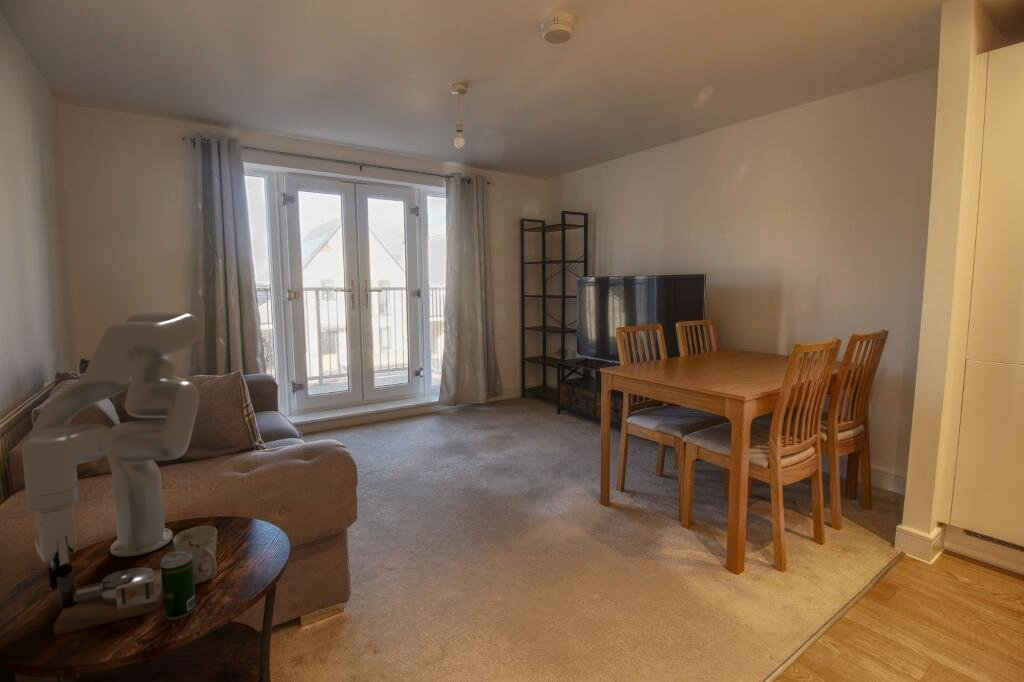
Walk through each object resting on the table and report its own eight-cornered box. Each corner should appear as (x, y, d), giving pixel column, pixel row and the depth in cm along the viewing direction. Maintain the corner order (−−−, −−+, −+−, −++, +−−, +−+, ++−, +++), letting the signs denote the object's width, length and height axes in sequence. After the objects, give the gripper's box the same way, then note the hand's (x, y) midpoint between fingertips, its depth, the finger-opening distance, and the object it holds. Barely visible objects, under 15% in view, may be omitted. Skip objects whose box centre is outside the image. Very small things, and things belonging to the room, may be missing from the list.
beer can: (201, 602, 102) (197, 547, 100) (187, 620, 96) (183, 562, 95) (174, 604, 101) (170, 549, 100) (158, 621, 96) (153, 563, 94)
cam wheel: (158, 573, 108) (156, 547, 107) (150, 596, 100) (148, 569, 99) (67, 593, 101) (65, 565, 100) (51, 619, 93) (48, 589, 92)
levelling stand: (76, 596, 103) (74, 567, 102) (168, 576, 111) (166, 549, 110) (53, 637, 91) (49, 605, 90) (157, 612, 98) (155, 582, 98)
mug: (207, 562, 116) (204, 522, 115) (238, 578, 110) (235, 536, 109) (168, 580, 109) (165, 538, 108) (199, 598, 103) (196, 554, 102)
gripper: (20, 493, 99) (29, 579, 101) (34, 515, 90) (43, 609, 92) (69, 482, 105) (77, 563, 107) (87, 501, 96) (95, 589, 97)
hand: (61, 584), depth 99 cm, fingers closed
